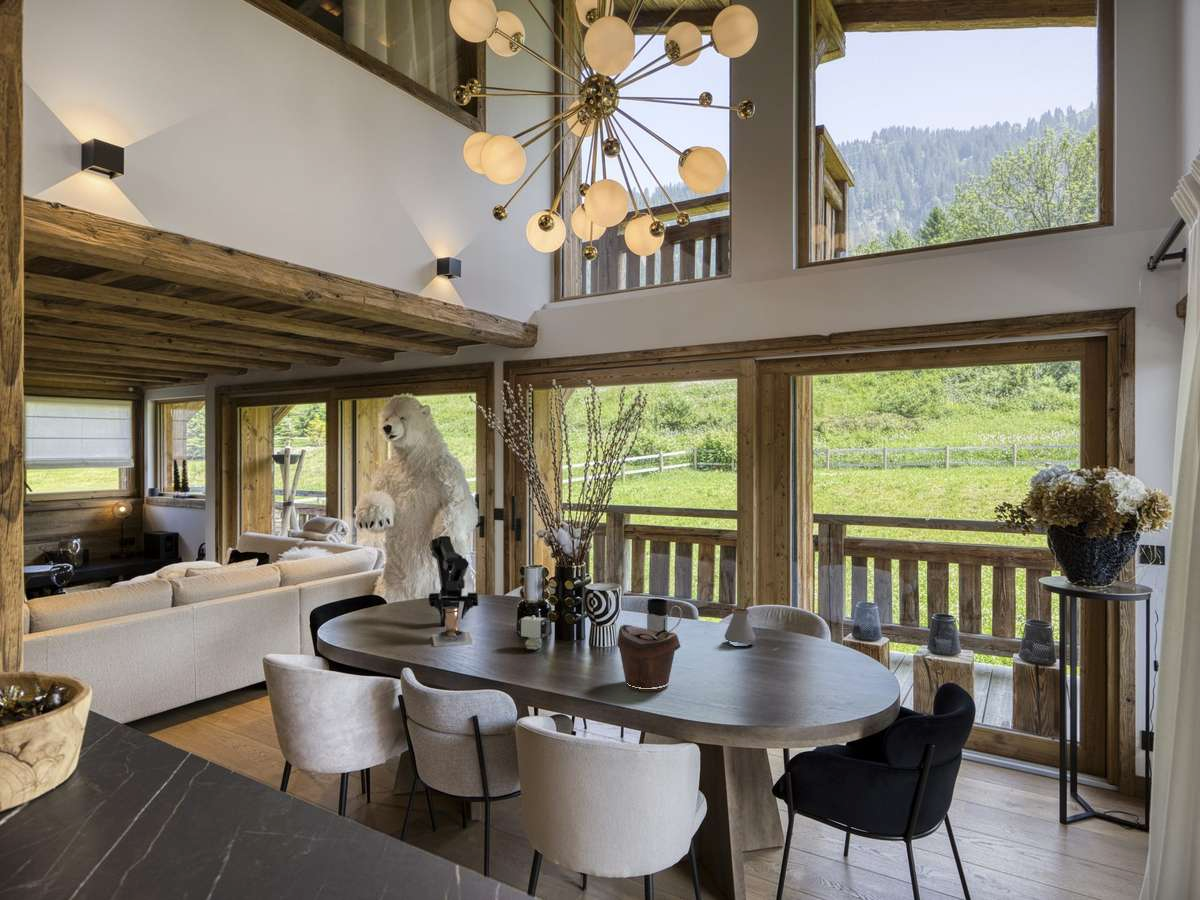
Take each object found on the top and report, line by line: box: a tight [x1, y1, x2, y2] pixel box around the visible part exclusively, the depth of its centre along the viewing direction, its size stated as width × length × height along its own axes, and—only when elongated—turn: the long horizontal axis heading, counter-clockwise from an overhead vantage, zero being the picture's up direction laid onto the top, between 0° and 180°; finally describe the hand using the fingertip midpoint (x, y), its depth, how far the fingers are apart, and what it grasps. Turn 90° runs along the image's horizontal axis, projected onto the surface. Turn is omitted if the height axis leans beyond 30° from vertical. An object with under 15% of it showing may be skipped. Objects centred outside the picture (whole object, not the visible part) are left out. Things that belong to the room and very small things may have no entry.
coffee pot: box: [724, 597, 757, 643], centre depth 263 cm, size 21×12×15 cm, turn 154°
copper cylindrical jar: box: [444, 607, 460, 636], centre depth 263 cm, size 5×5×11 cm
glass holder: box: [646, 598, 683, 633], centre depth 264 cm, size 9×14×15 cm, turn 64°
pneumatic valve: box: [515, 615, 551, 651], centre depth 253 cm, size 6×12×12 cm, turn 72°
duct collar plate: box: [431, 630, 473, 647], centre depth 263 cm, size 14×14×2 cm
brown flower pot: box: [616, 624, 681, 693], centre depth 212 cm, size 18×20×18 cm
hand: (451, 618), depth 261 cm, fingers open, 7 cm apart
